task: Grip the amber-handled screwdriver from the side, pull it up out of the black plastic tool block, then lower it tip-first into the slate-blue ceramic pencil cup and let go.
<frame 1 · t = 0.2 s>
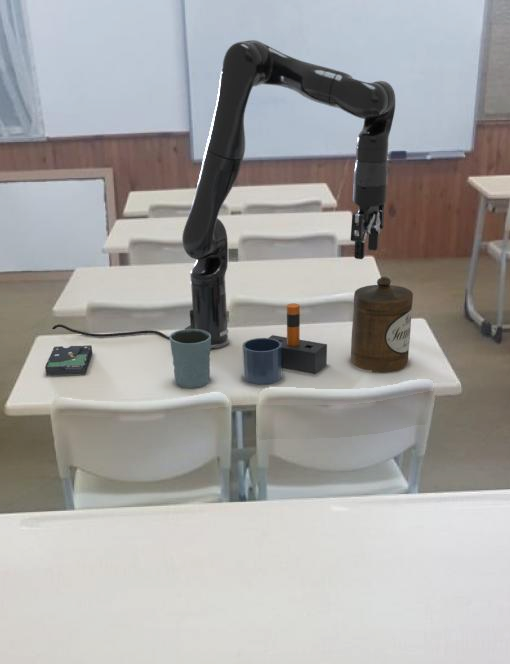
hand: (366, 254, 200), 29 cm above the table, tool pointing down, fingers open, 8 cm apart
holder: (293, 366, 219), on the table
wooden container: (379, 362, 220), on the table
grey-green cup: (193, 382, 212), on the table
disk drive: (70, 365, 224), on the table
screwdriver: (293, 364, 219), resting in holder
pencil cup: (262, 379, 213), on the table
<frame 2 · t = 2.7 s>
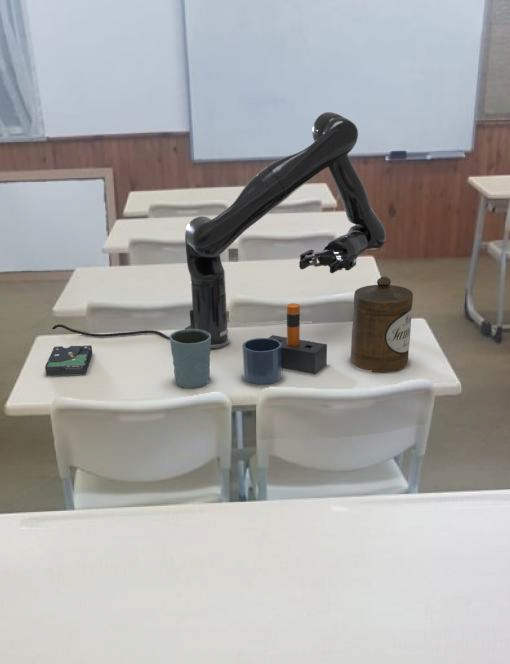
hand: (316, 267, 217), 22 cm above the table, tool horizontal, fingers open, 8 cm apart
nothing on the table moved.
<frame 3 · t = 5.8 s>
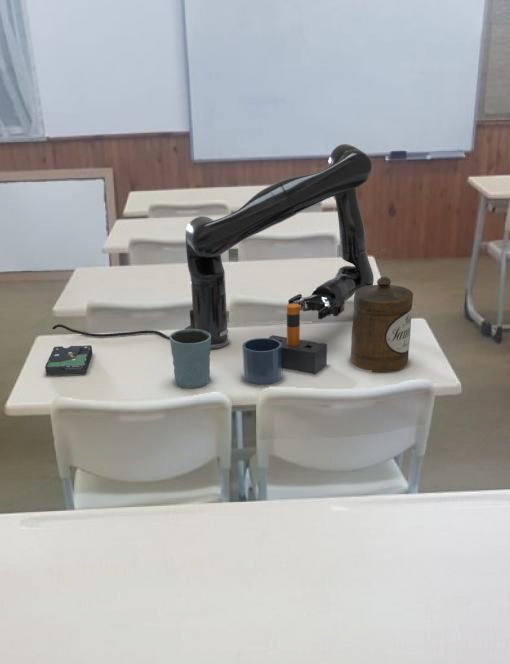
hand: (304, 313, 217), 12 cm above the table, tool horizontal, fingers open, 8 cm apart
nothing on the table moved.
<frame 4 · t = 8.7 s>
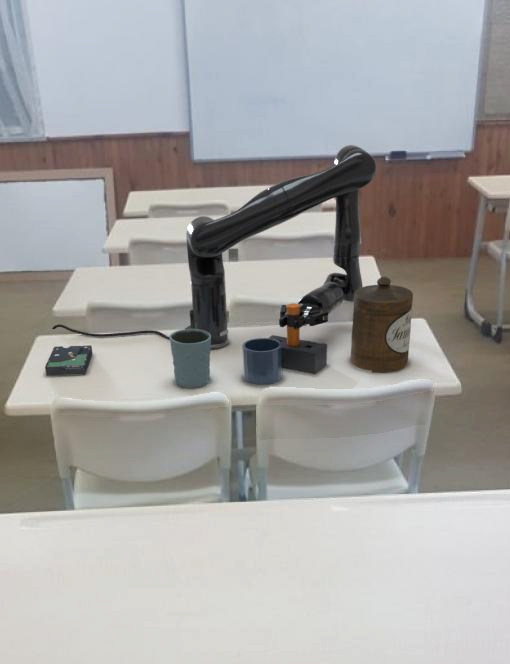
hand: (288, 324, 211), 12 cm above the table, tool horizontal, fingers closed on screwdriver, 3 cm apart
screwdriver: (293, 364, 219), point 1 cm above the table, touching gripper, holder
everything else where it was.
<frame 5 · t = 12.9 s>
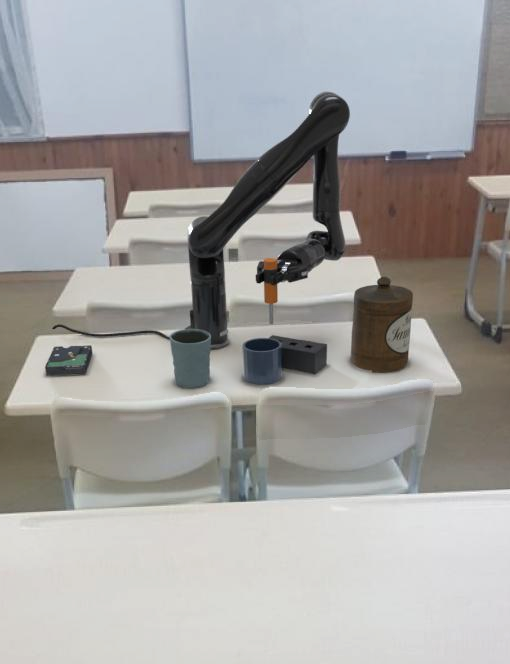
hand: (265, 280, 199), 25 cm above the table, tool horizontal, fingers closed on screwdriver, 3 cm apart
screwdriver: (271, 323, 207), point 13 cm above the table, touching gripper
everything else where it was.
when the fingers open (12 cm above the table, at t = 17.2 s): screwdriver stays where it is, resting on pencil cup.
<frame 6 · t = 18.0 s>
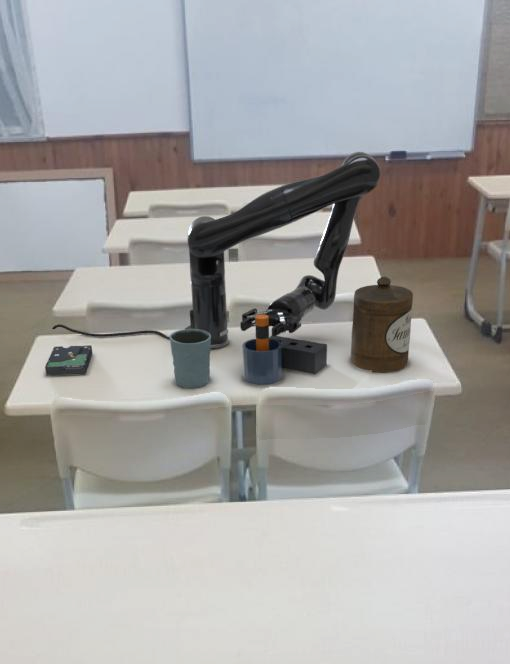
hand: (257, 329, 204), 13 cm above the table, tool horizontal, fingers open, 8 cm apart
screwdriver: (263, 376, 212), point 1 cm above the table, touching pencil cup
everything else where it was.
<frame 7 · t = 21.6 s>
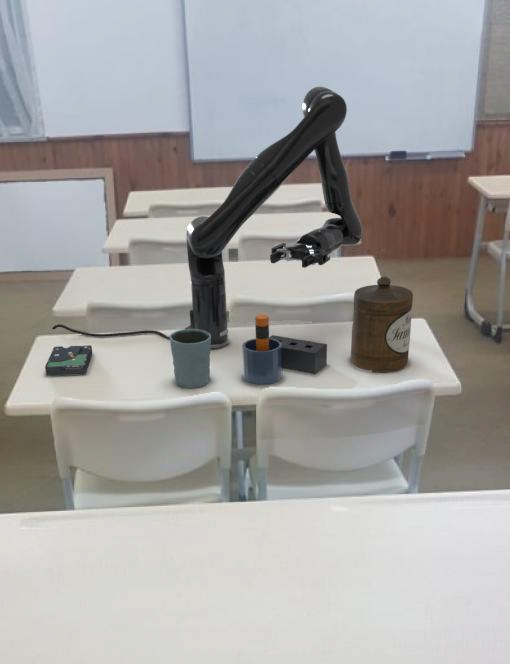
hand: (287, 261, 205), 27 cm above the table, tool horizontal, fingers open, 8 cm apart
nothing on the table moved.
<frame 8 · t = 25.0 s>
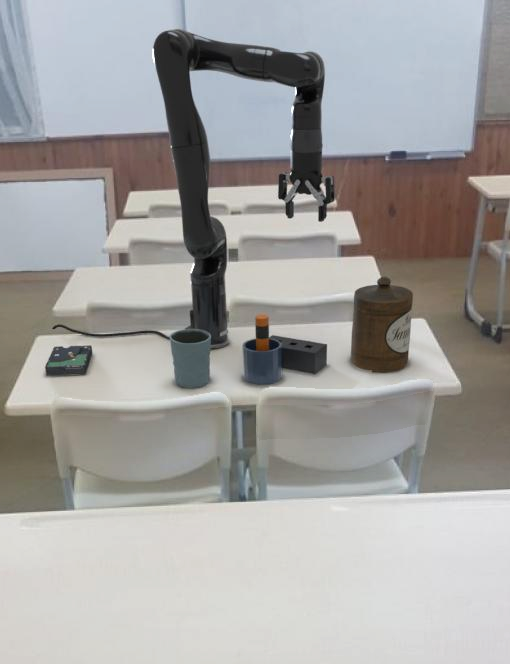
hand: (305, 219, 210), 34 cm above the table, tool pointing down, fingers open, 8 cm apart
nothing on the table moved.
at the end: screwdriver inside the target area in the pencil cup (0.1 cm from its centre), point 0.6 cm above the pencil cup's base; screwdriver moved 11.3 cm from its start; the gripper is holding nothing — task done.
